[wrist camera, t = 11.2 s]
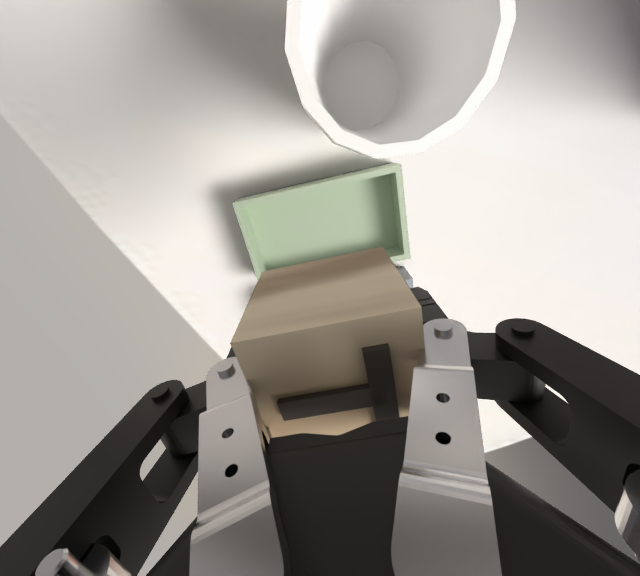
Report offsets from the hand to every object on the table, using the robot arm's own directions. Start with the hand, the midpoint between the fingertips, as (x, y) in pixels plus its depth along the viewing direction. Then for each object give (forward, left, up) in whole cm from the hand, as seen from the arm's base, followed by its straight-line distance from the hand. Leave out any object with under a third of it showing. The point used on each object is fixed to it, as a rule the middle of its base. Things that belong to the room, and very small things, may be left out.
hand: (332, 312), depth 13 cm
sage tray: (0, 0, -17) cm, 17 cm away
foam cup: (-10, +5, -17) cm, 21 cm away
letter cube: (0, 0, 0) cm, 0 cm away
